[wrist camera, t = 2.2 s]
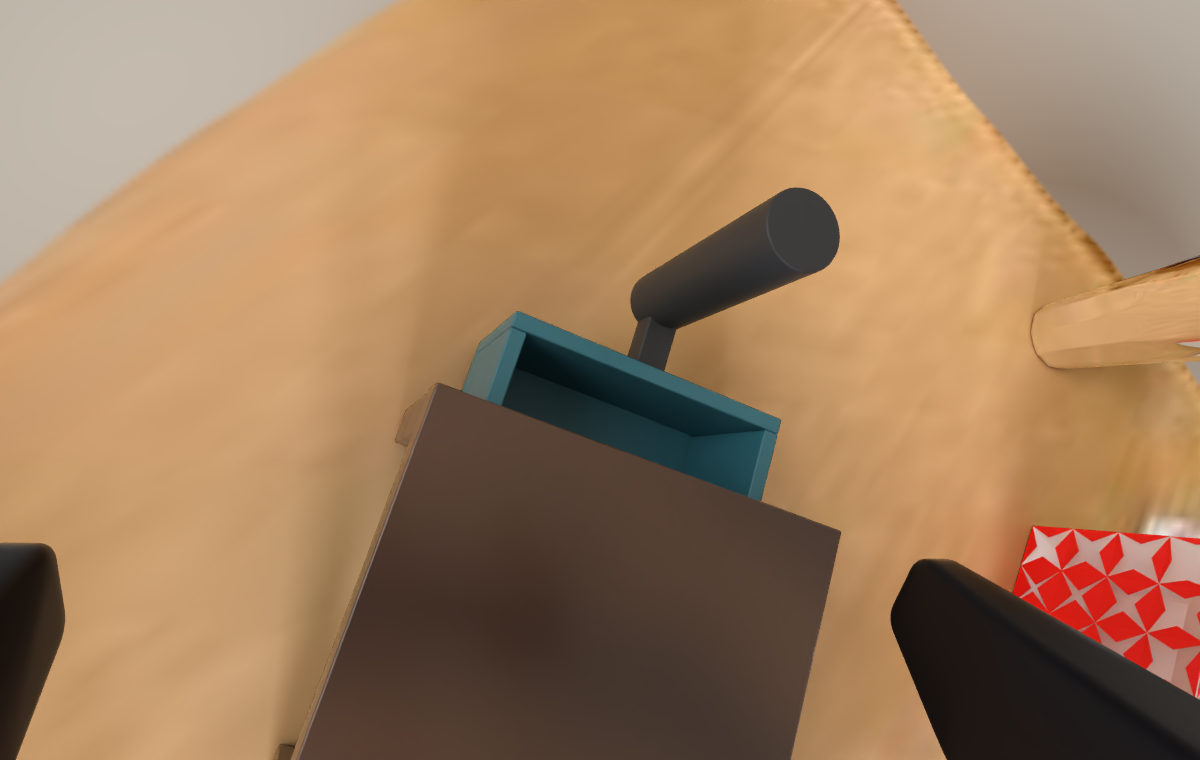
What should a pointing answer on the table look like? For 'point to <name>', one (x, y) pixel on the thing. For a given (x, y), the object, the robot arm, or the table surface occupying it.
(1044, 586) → the red patterned cube box
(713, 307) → the drawer
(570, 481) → the brown drawer cabinet
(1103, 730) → the robot arm
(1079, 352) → the milkshake
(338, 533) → the table surface
